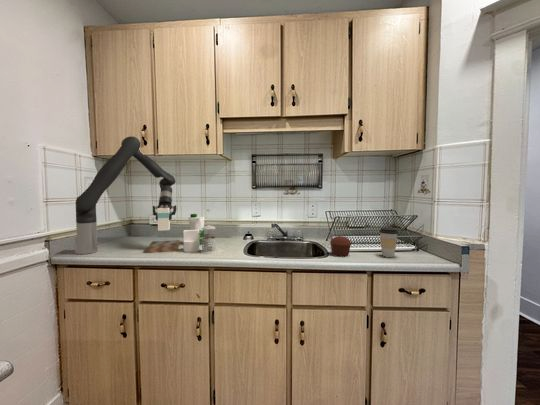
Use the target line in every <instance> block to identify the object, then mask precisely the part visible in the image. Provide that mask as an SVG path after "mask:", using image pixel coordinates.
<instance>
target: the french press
mask: <svg viewBox="0 0 540 405" xmlns="http://www.w3.org/2000/svg"><path fill="white" fill-rule="evenodd" d="M206 211H207V212H210V211H211V209H210V208H207V210H206ZM213 230H216V227H215V226H213V225H210V224H208V225H204V227H203V228H202V231H200V232H199V233H201V232H202V233H204V235H203V237H204V239H203V238H202V240H201V239H200V240H201V241H202V242H201V243H202V244H201V250H200V254H202V255H211V254H215V253H218V250H217V249H216V248H217V242H216V241H217V240H216V239H217V238H216V234H214V233H212V234H211V233H208V234H205V231H213ZM203 231H204V232H203ZM198 235H199V234H198ZM198 239H199V237H198ZM203 241H204V242H203Z"/></svg>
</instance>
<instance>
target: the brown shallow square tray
mask: <svg viewBox="0 0 540 405" xmlns="http://www.w3.org/2000/svg"><path fill="white" fill-rule="evenodd" d="M179 247H180V240H179V239H173V240H172V239H171V240H156V241H155V240H152V241H151V242H150V243H149V244H148V245H147V247H146V252H147V254H153V253H154V254H155V253H156V254H157V253H167V252H168V253H172V252H178V251H179Z"/></svg>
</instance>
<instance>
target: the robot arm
mask: <svg viewBox="0 0 540 405" xmlns="http://www.w3.org/2000/svg"><path fill="white" fill-rule="evenodd" d="M139 148H140V149H141V140H139V139H138V137H136V136H127V137H125V138H124V139H123V140H122V141H121V146H120V147H119V149H118V150H117V151H116V152H115V154H113V156H112V157H110V158H109V159H108V160H107V161H106V162H104V164H103V165H102V166H101V168H99V170H98V171H97V173H96V174H95V176H94V178H93V180H92V182H91V183H90V185H89V186H88V187H87V188H86V189H85V190H84V191H83V192H82V193H81V194H80V195H79V196H78V197H77V198H76V200H75V224H76V225H75V228H76V229H75V230H76V236H74V245H75V246H74V247H75V248H74V249H75V250H74V251H75V252H74V253H75V255H87V254H88V255H89V254H94V253H98V227H97V225H98V222H97V207H96V206H97V203H98V202H99V200H100V198H101V197H102V195H103V194H104V193H105V192H106V190H107V189H108V188H109V187H110V186H111V185H112V184H113V182H115V180H116V179H117V178H118V177H119V175H120V174H121V173H122V171H123V170H124V168H125V166H126V165H127V163H128V162H129V160H130V159H131V158H132V157H133V158H134V159H135V160H137V161H138V162H139V163H140V164H141V165H142V166H144V168H145V169H146V170H148V172H149V173H151V175H153V177H154V178H156V179H158V178H159V179H160V178H162V179H160V180H159V182H158V184H159V187H160V194H159V198H158V205H156V206H155V205H152V215H153V217H154V216H155V221H157V222H158V214H157V213H158V210H157V209H158V208H163V207H167V208H169V213H170V214H169V220H170V221H171V220H172V218H173V216H175V215H176V212H177V209H178V208H177V205H174V206H173V204H172V203H173V188H172V186H174V185H175V184H176V177H174V176H173V175H172V174H170V173H169V172H167V171H166V170H164V169H163V168H162V167H161V166H160V165H159V164H158V163H157V162H156V161H154V159H152V158H151V157H149V156H148V155H147V154H146V155H143V154H142V153H141V152H140V150H139ZM171 210H172V211H171Z"/></svg>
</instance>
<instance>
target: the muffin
mask: <svg viewBox="0 0 540 405" xmlns="http://www.w3.org/2000/svg"><path fill="white" fill-rule="evenodd" d="M329 243H330V250H331V254H332V255H333V254H334V255H333V256H335V255H337V256H336V257H342V256H344V257H348V256H349V255H350V250H351V249H350V248H351V245H352V244H353V243H352V242H351V240H350V239H349V238H348V237H346V236H341V235H339V236H334V237H332V239H331V240H330V242H329ZM348 254H349V255H348Z"/></svg>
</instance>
